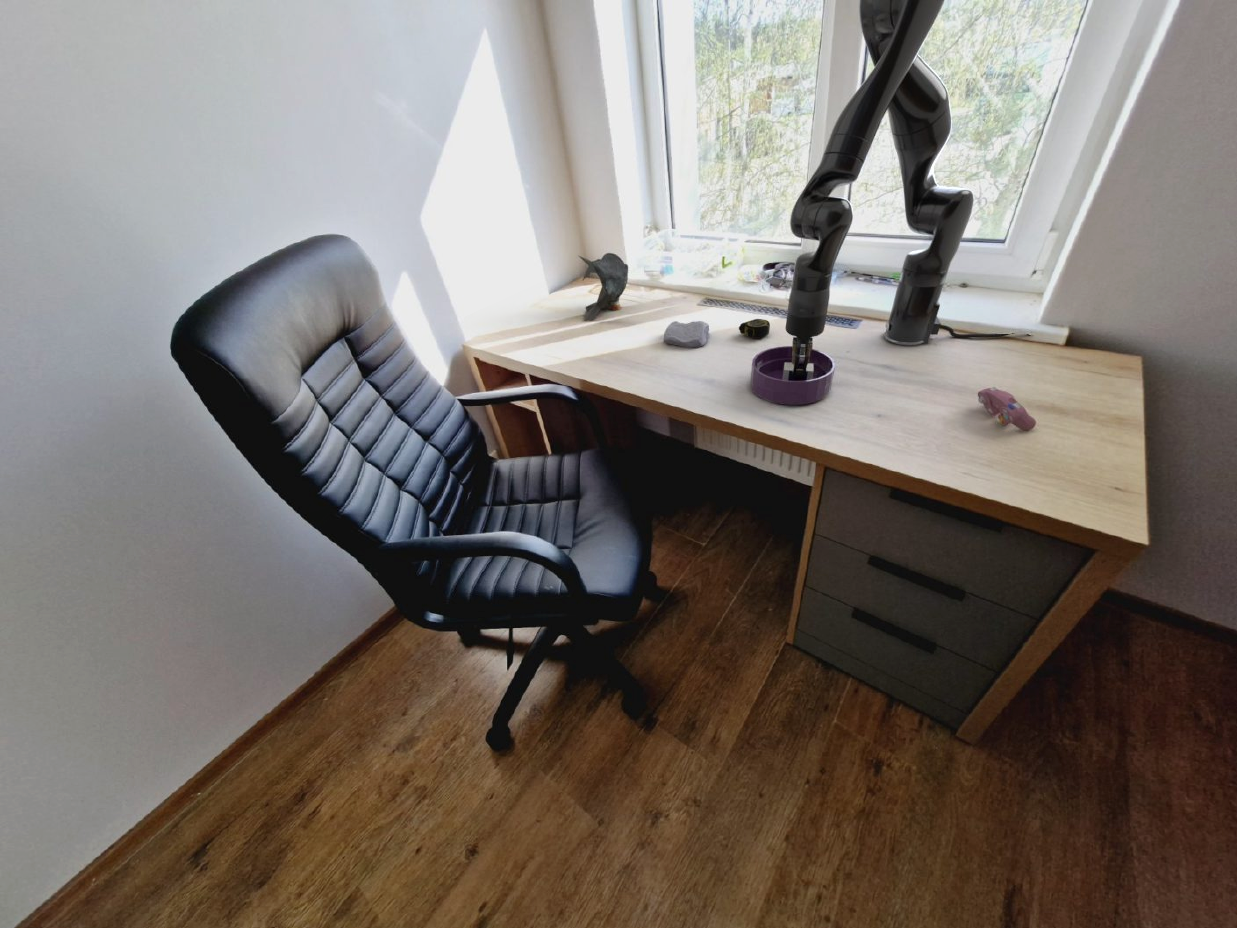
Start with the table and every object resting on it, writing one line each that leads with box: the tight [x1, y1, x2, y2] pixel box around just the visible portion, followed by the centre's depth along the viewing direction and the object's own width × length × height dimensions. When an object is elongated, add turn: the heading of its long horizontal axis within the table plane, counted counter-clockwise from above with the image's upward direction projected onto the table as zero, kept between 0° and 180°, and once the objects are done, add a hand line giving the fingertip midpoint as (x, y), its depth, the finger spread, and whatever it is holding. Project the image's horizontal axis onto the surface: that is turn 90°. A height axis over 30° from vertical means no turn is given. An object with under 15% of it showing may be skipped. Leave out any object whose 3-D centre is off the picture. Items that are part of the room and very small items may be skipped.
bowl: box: [749, 345, 836, 406], centre depth 104 cm, size 17×17×6 cm
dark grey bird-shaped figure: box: [578, 252, 629, 322], centre depth 150 cm, size 14×15×18 cm
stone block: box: [663, 320, 710, 349], centre depth 130 cm, size 12×5×10 cm
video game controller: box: [977, 386, 1037, 431], centre depth 87 cm, size 10×5×7 cm, turn 5°
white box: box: [783, 362, 813, 381], centre depth 103 cm, size 6×4×4 cm, turn 72°
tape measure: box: [738, 318, 771, 339], centre depth 127 cm, size 7×7×4 cm
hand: (796, 383), depth 105 cm, fingers closed on white box, 3 cm apart
